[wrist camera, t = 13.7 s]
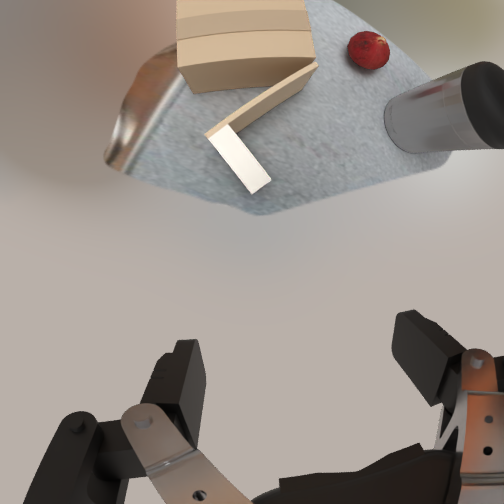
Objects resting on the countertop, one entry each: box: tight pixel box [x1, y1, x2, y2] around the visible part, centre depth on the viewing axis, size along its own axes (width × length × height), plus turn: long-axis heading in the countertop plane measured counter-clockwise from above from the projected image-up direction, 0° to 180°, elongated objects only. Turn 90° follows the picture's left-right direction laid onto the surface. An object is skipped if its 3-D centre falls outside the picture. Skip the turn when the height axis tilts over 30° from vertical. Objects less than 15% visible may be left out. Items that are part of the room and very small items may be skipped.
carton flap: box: [204, 62, 319, 194], centre depth 30 cm, size 14×8×9 cm, turn 127°
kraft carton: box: [176, 0, 316, 94], centre depth 26 cm, size 14×10×10 cm
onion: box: [347, 31, 390, 70], centre depth 28 cm, size 6×6×8 cm
